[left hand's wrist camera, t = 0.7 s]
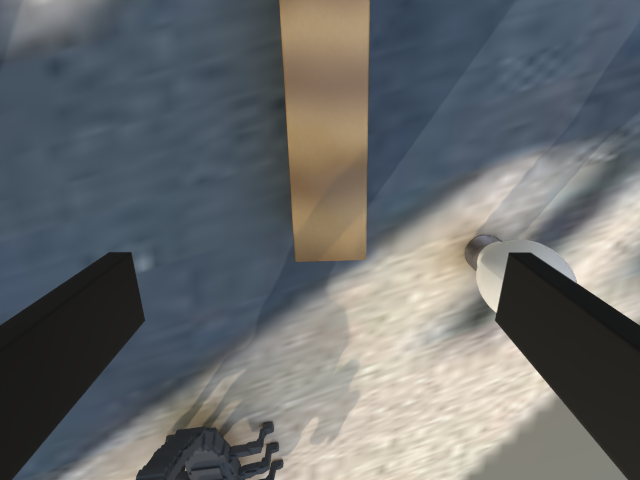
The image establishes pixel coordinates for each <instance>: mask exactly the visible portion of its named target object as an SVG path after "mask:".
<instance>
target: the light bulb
mask: <svg viewBox="0 0 640 480" xmlns="http://www.w3.org/2000/svg"><path fill="white" fill-rule="evenodd" d="M509 252H531V253H532V254H534V255H535V256H537V257H538V258H540V259H541V260H543V261H544V262H546V263H547V264H549V265H550V266H552V267H553V268H555V269H556V270H558V271H559V272H561V273H562V274H564V275H565V276H567V277H568V278H570V279H571V280H573V281H574V282H576V283H577V281H576V278H575V275H574V273H573V271H572V269H571V268H570V266H569V265H568V263H567V262H566V261H565V260H564V259H563V258H562V257H561V256H560V255H559V254H558V253H556V252H555V251H553V250H552V249H550V248H548V247H546V246H544V245H542V244H540V243H537V242H533V241H529V240H520V239H517V240H507V241H504V242H502V241H501V240H499V239H498V238H496V237H494V236H491V235H483V236H479V237H476V238H474V239H473V240H472V241H471V242H470V243H469V244H468V245H467V247H466V250H465V257H466V260H467V262H468V263H469V264H470V265H471V266H472V267H473V268H474V269H475V270H476V271H477V284H478V288H479V291H480V293H481V295H482V297H483V298H484V300H485V301H486V303H487V304H488V305H489V306H490V307H491V308H492V309H493V310H494V311H495V312H496V313H497V308H498V303H499V298H500V293H501V288H502V283H503V278H504V273H505V269H506V264H507V259H508V254H509Z"/></svg>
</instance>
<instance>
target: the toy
mask: <svg viewBox="0 0 640 480" xmlns="http://www.w3.org/2000/svg"><path fill="white" fill-rule="evenodd" d="M272 432H274V426H273V422H272V423H264V424H263V429H261V430H260V434H259V439H257V441H254V442H248V443H247V444H245V445H238V446H233V447H230V445H229V444H228V443H227V441H226V440H225V439H224V438H223V436H221V435H220V432H218V430H217V429H216V428H206V427H198V428H191V429H183V430H177V432H176V434H175V435H171V436H167V437H166V442H165V444H164V445H162V446H161V448H159V449H158V450H157V451H156V452H155V453H154V455H153V456H152V458H151V459H150V461H149V462H148V463H147V465H146V466H144V467H143V469H142V470H139V472H138V474H137V476H136V480H245V479H247V478H251V477H253V476H254V475H256V474H263V473H264V472H266V471H267V470H269V469H270V472H269V475H268V476H267V477H266V478H264V479H260V480H274V477H275V473H276V470H278V469H281V468H282V467H283V460H278V461H273V462H272V463H271V467H270V461H271V454H272V453H275V452H277V451H279V444H278V443H275V444H267V447H266V454H265V457H264V458H262V462H256V463H251V464H248V465H244V466H242V467H241V465H240V461H239V459H238V457H243V456H249V455H253V454H257V453H261V450H262V447H263V443H264V438H265V436H266V435H267V434H270V433H272ZM185 467H186V469H187V471H185Z"/></svg>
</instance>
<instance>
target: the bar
mask: <svg viewBox="0 0 640 480" xmlns="http://www.w3.org/2000/svg"><path fill="white" fill-rule="evenodd" d="M279 3H280V19H281V36H282V52H283V69H284V85H285V102H286V119H287V135H288V152H289V168H290V185H291V201H292V218H293V235H294V251H295V262H306V261H336V260H365V259H366V226H367V162H368V98H369V34H370V0H279Z"/></svg>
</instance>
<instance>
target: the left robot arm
mask: <svg viewBox="0 0 640 480" xmlns="http://www.w3.org/2000/svg"><path fill="white" fill-rule="evenodd" d="M144 321H145V318H144V313H143V308H142V303H141V298H140V293H139V288H138V283H137V278H136V273H135V269H134V264H133V259H132V254H131V252H109V253H108V254H106V255H105V256H103V257H102V258H100V259H99V260H97V261H96V262H94V263H93V264H91V265H90V266H88V267H87V268H85V269H84V270H82V271H81V272H79V273H78V274H76V275H75V276H73V277H72V278H70V279H69V280H67V281H66V282H64V283H63V284H61V285H60V286H58V287H57V288H55V289H54V290H52V291H51V292H49V293H48V294H46V295H45V296H44V297H42V298H41V299H39V300H38V301H36V302H35V303H33V304H32V305H30V306H29V307H27V308H26V309H24V310H23V311H21V312H20V313H18V314H17V315H15V316H14V317H12V318H11V319H9V320H8V321H6V322H5V323H3V324H2V325H0V480H12V479H13V478H14V477H15V475H16V474H17V473H18V472H19V471H20V470H21V468H22V467H23V466H24V465H25V464H26V462H27V461H28V460H29V459H30V458H31V456H32V455H33V454H34V453H35V452H36V450H37V449H38V448H39V447H40V446H41V444H42V443H43V442H44V441H45V440H46V438H47V437H48V436H49V435H50V434H51V432H52V431H53V430H54V429H55V428H56V426H57V425H58V424H59V423H60V422H61V420H62V419H63V418H64V417H65V416H66V414H67V413H68V412H69V411H70V410H71V408H72V407H73V406H74V405H75V404H76V402H77V401H78V400H79V399H80V398H81V396H82V395H83V394H84V393H85V392H86V390H87V389H88V388H89V387H90V386H91V384H92V383H93V382H94V381H95V380H96V379H97V377H98V376H99V375H100V374H101V373H102V371H103V370H104V369H105V368H106V367H107V365H108V364H109V363H110V362H111V361H112V359H113V358H114V357H115V356H116V355H117V353H118V352H119V351H120V350H121V349H122V347H123V346H124V345H125V344H126V343H127V341H128V340H129V339H130V338H131V337H132V335H133V334H134V333H135V332H136V331H137V329H138V328H139V327H140V326H141V325H142V323H143V322H144ZM495 321H496V322H497V323H498V325H499V326H500V327H501V328H502V329H503V331H504V332H505V333H506V334H507V335H508V337H509V338H510V339H511V340H512V341H513V343H514V344H515V345H516V346H517V347H518V349H519V350H520V351H521V352H522V353H523V355H524V356H525V357H526V358H527V359H528V361H529V362H530V363H531V364H532V365H533V367H534V368H535V369H536V370H537V371H538V373H539V374H540V375H541V376H542V377H543V379H544V380H545V381H546V382H547V383H548V384H549V386H550V387H551V388H552V389H553V390H554V392H555V393H556V394H557V395H558V396H559V398H560V399H561V400H562V401H563V402H564V404H565V405H566V406H567V407H568V408H569V410H570V411H571V412H572V413H573V414H574V416H575V417H576V418H577V419H578V420H579V422H580V423H581V424H582V425H583V426H584V428H585V429H586V430H587V431H588V432H589V434H590V435H591V436H592V437H593V438H594V440H595V441H596V442H597V443H598V444H599V446H600V447H601V448H602V449H603V450H604V452H605V453H606V454H607V455H608V456H609V458H610V459H611V460H612V461H613V462H614V464H615V465H616V466H617V467H618V468H619V469H620V471H621V472H622V473H623V474H624V475H625V477H626V478H627V479H628V480H640V325H638V324H637V323H635V322H634V321H632V320H631V319H629V318H628V317H626V316H625V315H623V314H622V313H620V312H619V311H617V310H616V309H614V308H613V307H611V306H610V305H608V304H607V303H605V302H604V301H602V300H601V299H599V298H598V297H596V296H595V295H594V294H592V293H591V292H589V291H588V290H586V289H585V288H583V287H582V286H580V285H579V284H577V283H576V282H574V281H573V280H571V279H570V278H568V277H567V276H565V275H564V274H562V273H561V272H559V271H558V270H556V269H555V268H553V267H552V266H550V265H549V264H547V263H546V262H544V261H543V260H541V259H540V258H538V257H537V256H535V255H534V254H532V253H531V252H509V254H508V259H507V264H506V269H505V273H504V278H503V283H502V288H501V293H500V298H499V303H498V308H497V313H496V318H495Z"/></svg>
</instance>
